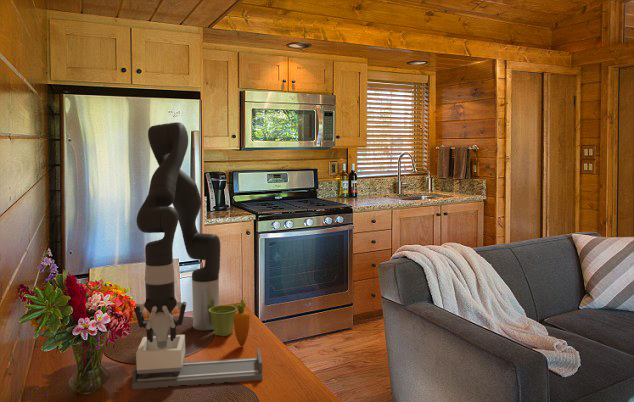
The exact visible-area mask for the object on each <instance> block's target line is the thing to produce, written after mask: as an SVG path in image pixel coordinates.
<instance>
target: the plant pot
mask: <svg viewBox="0 0 634 402" xmlns="http://www.w3.org/2000/svg"><path fill="white" fill-rule="evenodd" d="M237 310H238V309H237V308H236V307H235V306H233V305H231V304H219V305H218V306H214V307H211V308H210V309H209V312H210V314H211V317H212V322H213V328H214V329H213V334H214V335H215V336H219V337H226V336H227V337H228V336H230V335H231V334H233V331H234V314H235V313H236V311H237Z"/></svg>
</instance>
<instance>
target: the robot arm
mask: <svg viewBox="0 0 634 402" xmlns="http://www.w3.org/2000/svg"><path fill="white" fill-rule="evenodd" d="M147 138H148V142H149V146H150V148H151V151H152V153H153V156H154V158H155V160H156V163H157V164H158V167H157V168H156V169H155V171H154V172H153V174H152V176H151V179H150V181H149V182H150V183H149V188H148V194H147V196H146V197H145V200H144V201H143V203H142V205H141V206H140V208H139V210H138V211H137V212H138V213H137V215H136V225H137V228H138V229H139V231H140V232H142V233H144V234H160V233H161V234H162V233H163V237H162V238H161V239H158V240H153V241H149V242H148V243H146V245H145V248H144V254H145V260H144V261H145V269H144V270H145V271H144V281H145V283H144V284H145V286H144V287H145V301H144V303H141V304H139V303H137V304H136V305H135V306H136V308H135V307H134V308H133V310H134V314H135V316H136V320H137V325H138V326H139V327H140V329H141V328H144V329H146V337H147V340H149V342H153V336H154V331H153V330H152V328H151V326H150V321H151V319H152V318H153V317H154V316H155V314H156V313H157V312H164V313H165V315H167V316H169V319H170V320H171V321H172V323H171V328H170V330H169V332H170V333H169V335H170V339H171V341H173V340H174V339H175V338H176V335H177V327H179V326H182V325H183V322H184V317H185V311H186V308H187V302H186V301H183V302H180V301H178V300H177V299H176V297H175V296H176V292H175V291H176V290H175V268H174V257H173V256H174V255H173V246H174V239H175V234H176V231H177V228H178V224H179V226H180V230H181V234H182V239H183V244H184V246H185V250H186V251H185V252H186V254H187V256H188V257H189V258H190V259H192V260H195V261H196V260H200V261H204V266H202V267H200V268H196V269H195V270H193V271H192V273H191V286H192V287H191V288H192V289H191V290H192V291H191V292H192V327H193V329H194V330H197V331H211V330H214V328H213V322H212V317H211V314H210V312H209V309H210V308H211V307H214V306H218V305H220V278H219V277H220V270H221V239H220V237H219V236H218V235H217V234H213V233H203V232H202V233H200V232H199V231H198V229H197V225H196V221H197V217H198V215H199V213H200V210H201V207H202V197H201V194H200V191H199V187H198V186H197V183H196V182H195V180H194V179H193V178H192V177H191V176H190V175H188V174H187V172H185V171H183V170H182V169H181V167H182V165H183V162H184V159H185V156H186V153H187V151H188V146H189V133H188V131H187V127H185V124H183V123H182V122H178V121H177V122H169V123H163V124H161V123H160V124H155V125H151V126H150V127H149V128H148V131H147ZM171 205H172V206H171ZM176 307H177V311H179V315H178V318H177V319H175V316H174V313H173V310H174V309H175V308H176ZM145 310H146V311H147V312H148V313H149V317H148V319H147V320H148V321H146V320H145V317H144V314H143V312H144V311H145ZM170 313H171V314H170ZM171 315H172V316H171Z"/></svg>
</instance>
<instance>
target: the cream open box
mask: <svg viewBox="0 0 634 402" xmlns="http://www.w3.org/2000/svg"><path fill="white" fill-rule="evenodd" d="M136 350H137V351H136V352H135V354H136V356H135V357H136V359H135V360H136V361H135V362H137V374H141V378H143V379H146V378H148V376H149V373H159V372H172V375H173V376H174V377H177V376H178V375H179V373H180V371H182V367H183V363H184V362H185V359H186V358H185V357H186V334H176V338H175V339H174V340H173V341H171V339H170V334H168V339H167V346H166V347H165V348H164V349H160V348H158V347H157V340H156V336H154V335H153V342H149V340H147V336H143V337H142V339H141V342H140V344H139V345H138V348H137V349H136Z"/></svg>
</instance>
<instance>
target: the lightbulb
mask: <svg viewBox="0 0 634 402" xmlns="http://www.w3.org/2000/svg"><path fill="white" fill-rule="evenodd" d="M170 314H171V313H170ZM171 316H172V315H171ZM171 323H172V321H171V320H170V319H169V316H167V315H165V313H164V312H157V313H156V314H155V316H154V317H153V318H152V319H151V321H150V326H151V328H152V330H153V334H154V335H155V336H156V340H157V347H158V348H160V349H164V348H165V347H166V346H167V339H168V336H169V332H170V328H171Z"/></svg>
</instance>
